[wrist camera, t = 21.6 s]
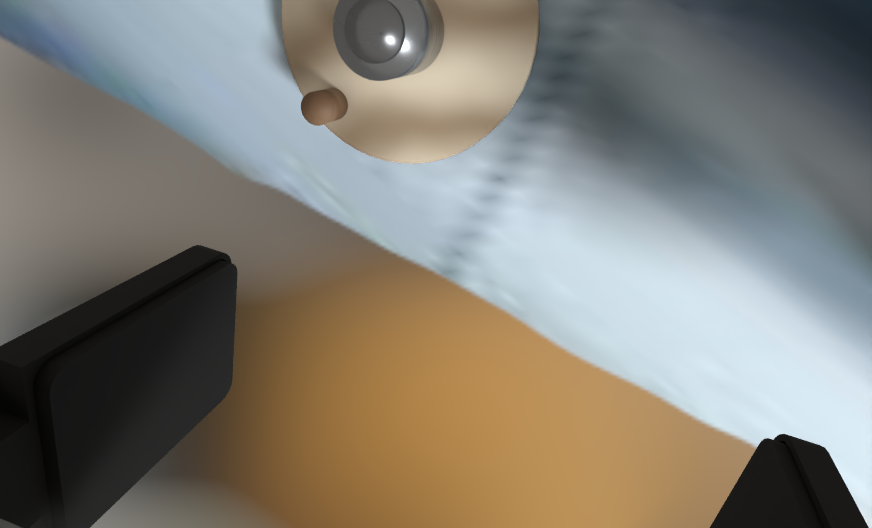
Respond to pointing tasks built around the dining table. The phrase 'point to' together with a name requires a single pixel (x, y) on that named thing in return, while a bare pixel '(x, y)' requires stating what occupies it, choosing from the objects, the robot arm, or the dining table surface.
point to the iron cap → (388, 36)
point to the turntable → (416, 80)
